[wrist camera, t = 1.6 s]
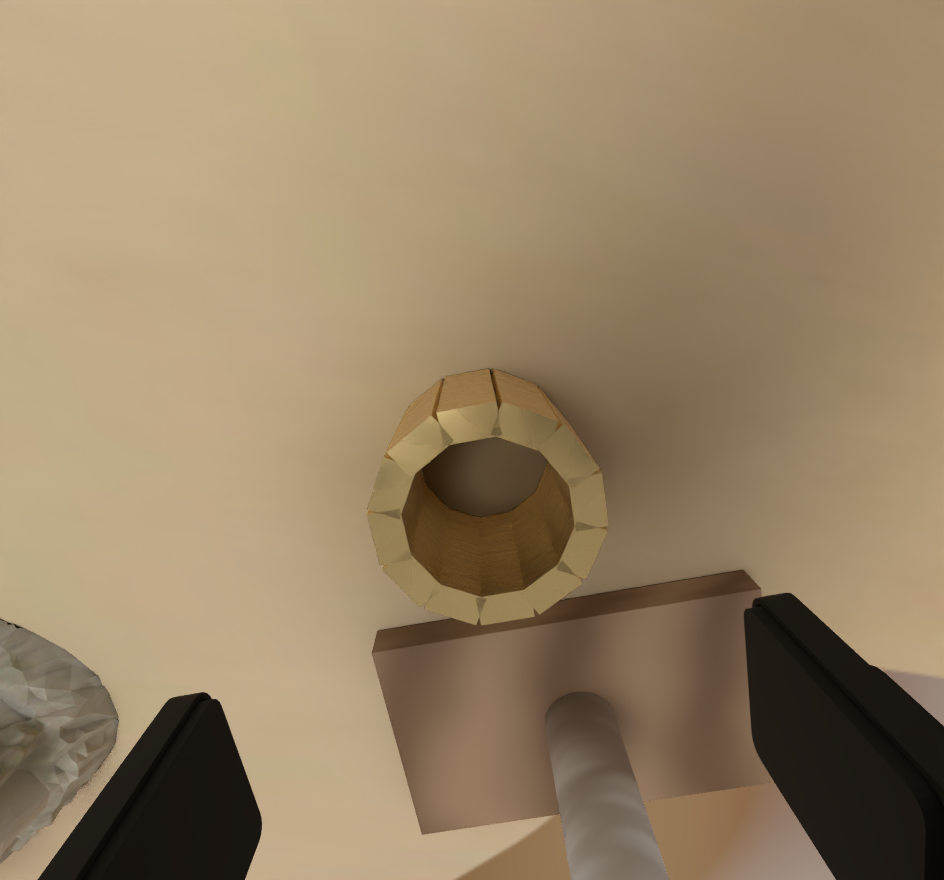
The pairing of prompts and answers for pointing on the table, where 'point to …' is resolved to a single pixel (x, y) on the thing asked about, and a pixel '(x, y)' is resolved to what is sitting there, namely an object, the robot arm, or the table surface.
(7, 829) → the ceramic cottage
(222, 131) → the table surface
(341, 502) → the table surface
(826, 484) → the table surface
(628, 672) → the post board
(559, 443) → the ring
